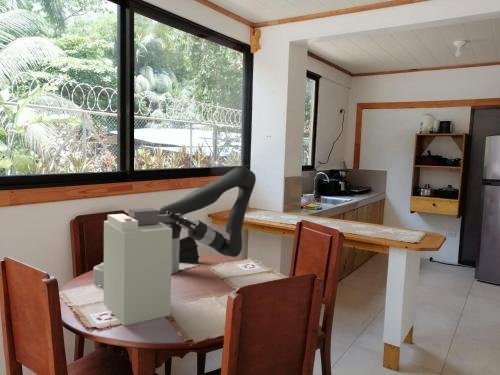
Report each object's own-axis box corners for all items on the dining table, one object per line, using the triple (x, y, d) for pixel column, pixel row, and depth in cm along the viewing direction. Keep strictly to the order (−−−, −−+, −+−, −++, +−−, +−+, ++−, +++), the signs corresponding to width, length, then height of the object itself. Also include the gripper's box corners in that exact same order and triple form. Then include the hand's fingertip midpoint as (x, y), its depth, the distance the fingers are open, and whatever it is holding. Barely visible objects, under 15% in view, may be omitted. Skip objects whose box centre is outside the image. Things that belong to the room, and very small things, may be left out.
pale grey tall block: (103, 302, 152) (103, 211, 149) (145, 294, 162) (147, 209, 159) (123, 325, 133) (124, 222, 130) (170, 315, 143) (172, 218, 140)
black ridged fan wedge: (202, 261, 206) (191, 235, 206) (180, 270, 208) (169, 244, 208) (204, 259, 210) (193, 234, 209) (182, 268, 212) (171, 242, 212)
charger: (128, 222, 146) (128, 209, 145) (176, 218, 157) (177, 206, 157) (134, 225, 141) (134, 211, 140) (183, 221, 152) (183, 208, 152)
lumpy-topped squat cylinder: (119, 287, 169) (119, 267, 168) (89, 286, 169) (89, 266, 168) (126, 279, 179) (127, 261, 178) (98, 278, 179) (98, 259, 178)
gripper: (198, 221, 168) (165, 203, 158) (214, 227, 156) (180, 208, 147) (189, 237, 166) (156, 219, 156) (205, 244, 155) (171, 226, 145)
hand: (168, 214), depth 152 cm, fingers closed on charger, 2 cm apart
